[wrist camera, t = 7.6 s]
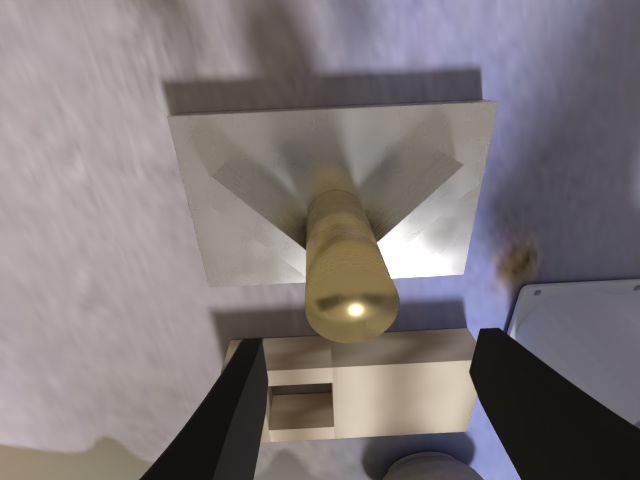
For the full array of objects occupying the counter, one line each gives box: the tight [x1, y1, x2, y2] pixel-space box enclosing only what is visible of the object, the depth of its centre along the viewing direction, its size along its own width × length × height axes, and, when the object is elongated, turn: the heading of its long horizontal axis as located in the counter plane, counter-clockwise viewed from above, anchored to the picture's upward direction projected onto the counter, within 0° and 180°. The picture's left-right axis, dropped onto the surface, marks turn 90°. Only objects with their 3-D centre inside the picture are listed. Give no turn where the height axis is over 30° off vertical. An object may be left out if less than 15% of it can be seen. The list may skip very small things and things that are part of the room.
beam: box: [221, 328, 477, 443], centre depth 24 cm, size 18×8×3 cm, turn 92°
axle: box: [305, 189, 400, 343], centre depth 14 cm, size 3×3×8 cm
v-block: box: [167, 100, 498, 287], centre depth 17 cm, size 16×10×4 cm, turn 92°
